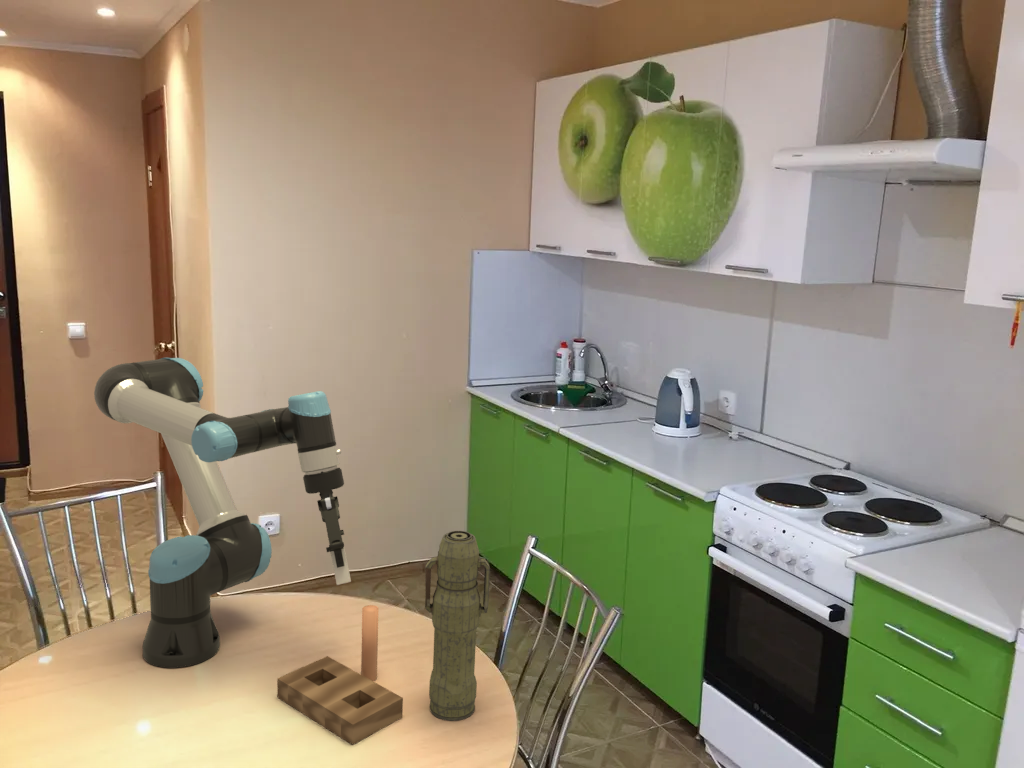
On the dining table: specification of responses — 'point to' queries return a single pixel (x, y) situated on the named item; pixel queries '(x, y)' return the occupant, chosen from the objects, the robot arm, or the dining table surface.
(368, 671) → the peg
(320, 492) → the robot arm
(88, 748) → the dining table surface
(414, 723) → the dining table surface
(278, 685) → the hole block
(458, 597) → the thermos
